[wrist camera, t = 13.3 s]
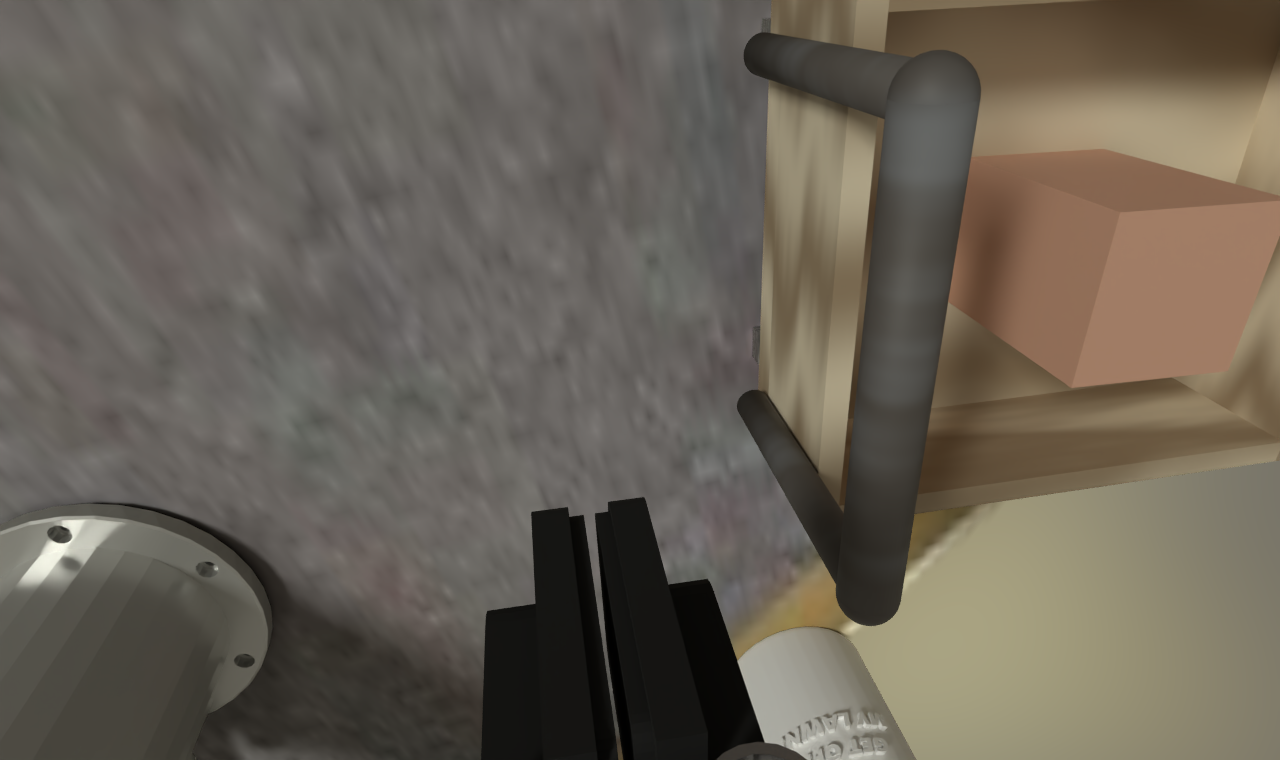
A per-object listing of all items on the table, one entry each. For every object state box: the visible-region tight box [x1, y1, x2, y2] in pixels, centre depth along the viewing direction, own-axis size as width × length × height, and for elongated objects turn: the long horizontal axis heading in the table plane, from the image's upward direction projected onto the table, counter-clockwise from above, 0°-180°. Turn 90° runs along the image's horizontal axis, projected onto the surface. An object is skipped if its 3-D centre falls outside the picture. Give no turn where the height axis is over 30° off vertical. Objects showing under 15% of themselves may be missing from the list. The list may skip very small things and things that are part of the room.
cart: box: [737, 0, 1280, 626], centre depth 23 cm, size 16×19×15 cm
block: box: [948, 149, 1280, 388], centre depth 23 cm, size 5×5×7 cm
